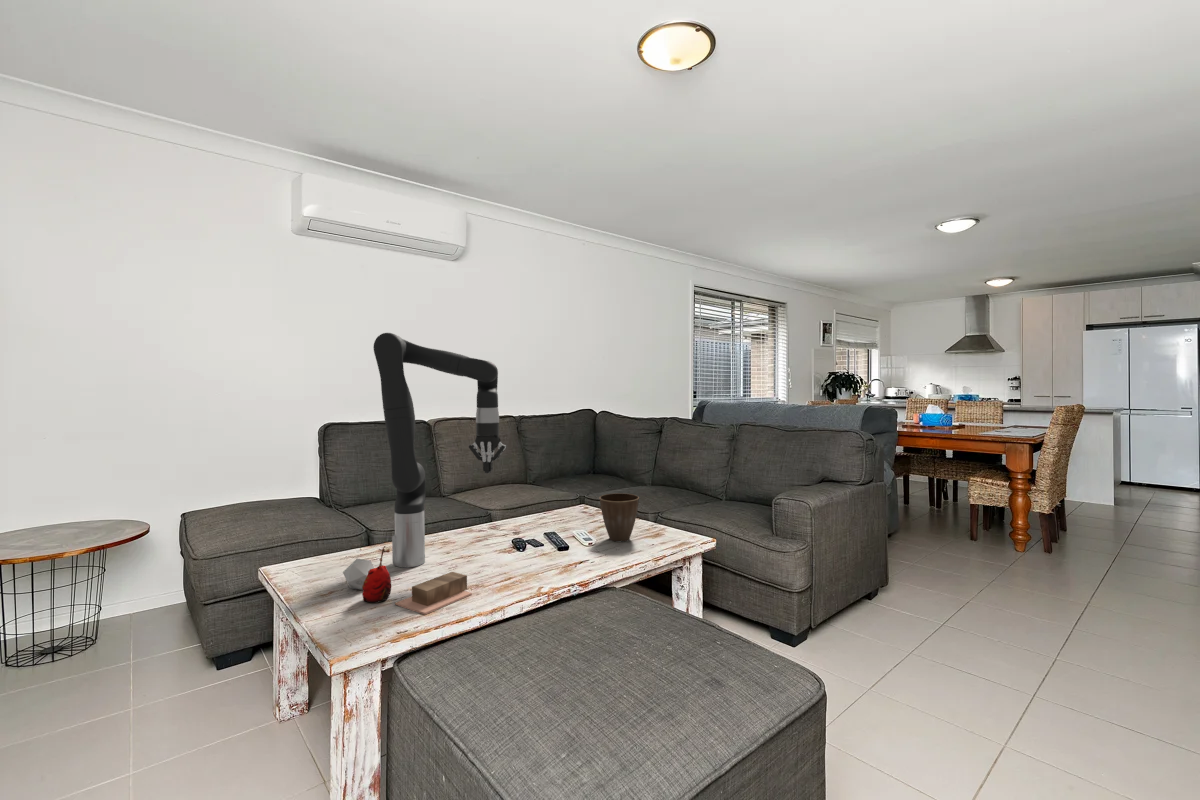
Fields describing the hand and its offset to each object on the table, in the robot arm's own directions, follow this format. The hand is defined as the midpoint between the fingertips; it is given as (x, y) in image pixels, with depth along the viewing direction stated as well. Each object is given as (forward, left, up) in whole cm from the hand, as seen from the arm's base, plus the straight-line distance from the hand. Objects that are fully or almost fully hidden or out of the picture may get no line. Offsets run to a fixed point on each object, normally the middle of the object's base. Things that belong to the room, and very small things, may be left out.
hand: (488, 472), depth 184 cm
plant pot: (+41, +29, -29) cm, 58 cm away
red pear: (-18, -38, -29) cm, 51 cm away
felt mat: (-3, -36, -29) cm, 46 cm away
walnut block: (+1, -28, -26) cm, 38 cm away
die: (-28, -30, -29) cm, 50 cm away
